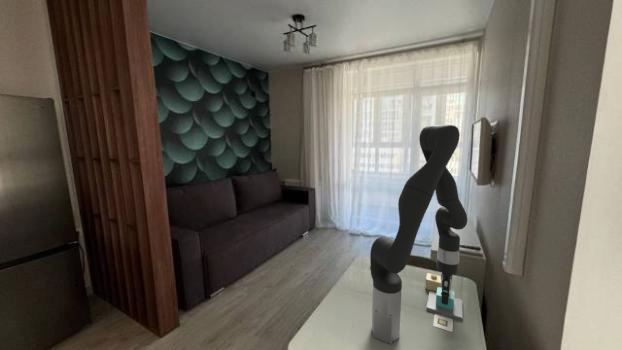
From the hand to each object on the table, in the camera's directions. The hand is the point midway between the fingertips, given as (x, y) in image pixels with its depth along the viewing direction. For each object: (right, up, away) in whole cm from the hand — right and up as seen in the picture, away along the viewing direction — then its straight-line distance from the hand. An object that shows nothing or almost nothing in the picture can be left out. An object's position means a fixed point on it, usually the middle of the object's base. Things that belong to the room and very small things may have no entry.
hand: (445, 297), depth 100 cm
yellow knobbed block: (+2, -2, +13) cm, 14 cm away
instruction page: (-5, -5, -8) cm, 11 cm away
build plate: (0, -4, +1) cm, 4 cm away
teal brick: (0, -2, 0) cm, 3 cm away
